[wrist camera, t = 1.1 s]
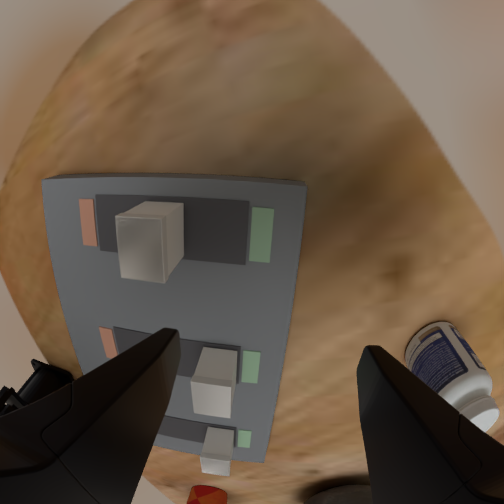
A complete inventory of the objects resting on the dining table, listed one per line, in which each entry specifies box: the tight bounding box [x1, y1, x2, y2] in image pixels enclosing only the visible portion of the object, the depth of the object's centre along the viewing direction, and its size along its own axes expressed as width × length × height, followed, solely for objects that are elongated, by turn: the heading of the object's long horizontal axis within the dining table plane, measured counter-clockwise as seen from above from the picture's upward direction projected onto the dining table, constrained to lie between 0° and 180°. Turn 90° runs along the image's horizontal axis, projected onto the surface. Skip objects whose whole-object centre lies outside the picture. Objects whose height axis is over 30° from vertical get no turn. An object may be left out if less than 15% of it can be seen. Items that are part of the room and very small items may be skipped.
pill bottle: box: [405, 322, 499, 432], centre depth 17 cm, size 5×5×10 cm
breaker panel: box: [42, 173, 307, 463], centre depth 22 cm, size 18×28×2 cm, turn 176°
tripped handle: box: [115, 201, 184, 283], centre depth 16 cm, size 2×3×4 cm
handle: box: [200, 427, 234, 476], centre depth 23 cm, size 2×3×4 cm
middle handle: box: [191, 347, 237, 418], centre depth 19 cm, size 2×3×4 cm
